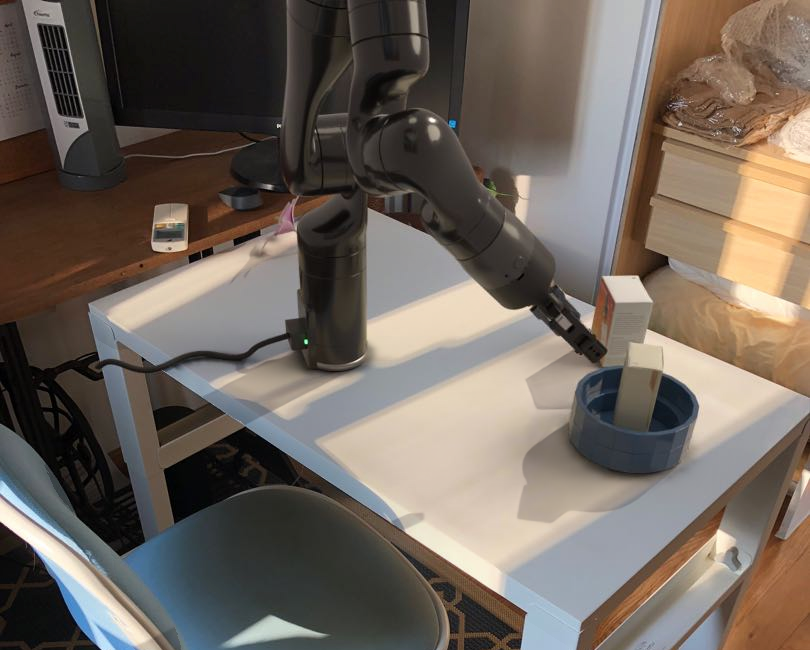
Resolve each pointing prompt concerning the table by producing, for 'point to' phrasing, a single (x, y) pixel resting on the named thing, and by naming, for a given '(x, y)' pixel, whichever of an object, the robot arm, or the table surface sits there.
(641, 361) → the cosmetic box
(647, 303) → the small box
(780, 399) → the table surface
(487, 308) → the table surface
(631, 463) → the bowl
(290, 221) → the lily
